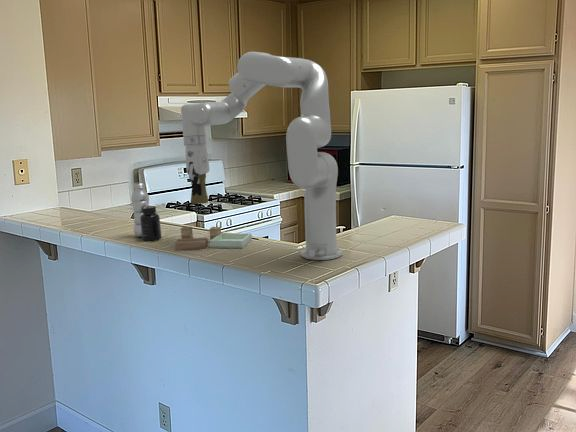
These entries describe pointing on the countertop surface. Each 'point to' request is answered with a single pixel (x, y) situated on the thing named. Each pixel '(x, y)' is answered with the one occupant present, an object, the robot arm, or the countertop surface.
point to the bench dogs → (187, 233)
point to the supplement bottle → (150, 224)
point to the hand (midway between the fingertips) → (199, 194)
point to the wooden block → (191, 244)
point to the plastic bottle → (139, 205)
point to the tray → (231, 240)
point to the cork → (203, 197)
